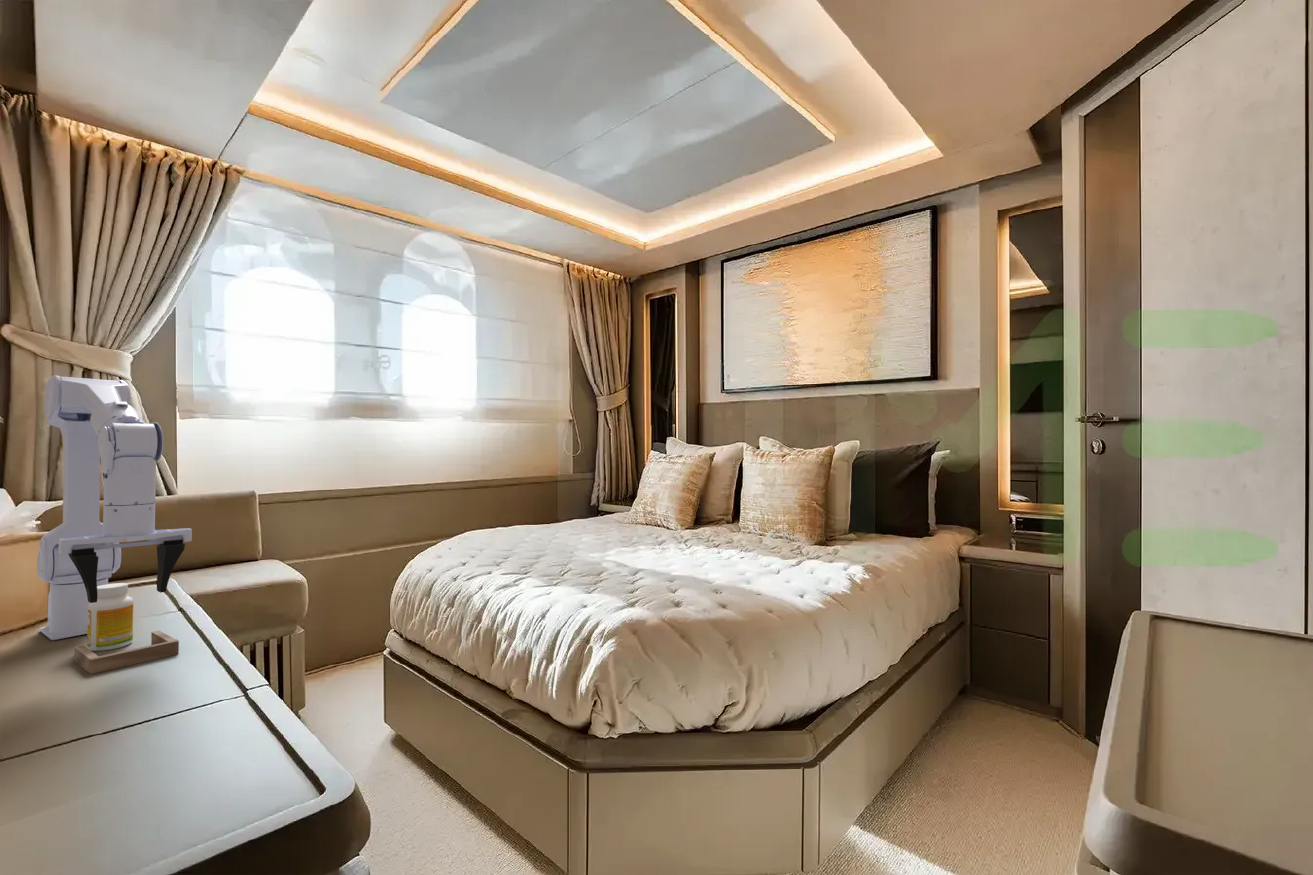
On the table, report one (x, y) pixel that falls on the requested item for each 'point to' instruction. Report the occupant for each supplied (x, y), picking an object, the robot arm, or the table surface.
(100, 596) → the supplement bottle
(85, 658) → the bay
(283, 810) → the table surface
